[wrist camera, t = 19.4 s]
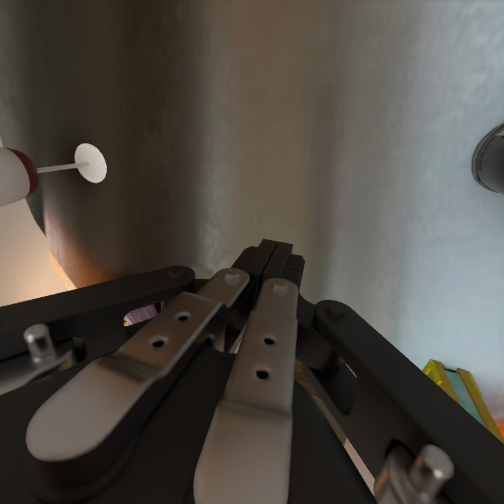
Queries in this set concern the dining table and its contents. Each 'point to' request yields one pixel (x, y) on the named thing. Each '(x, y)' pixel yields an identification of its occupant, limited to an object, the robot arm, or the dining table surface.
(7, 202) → the wineglass
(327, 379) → the robot arm
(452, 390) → the book
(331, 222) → the dining table surface
